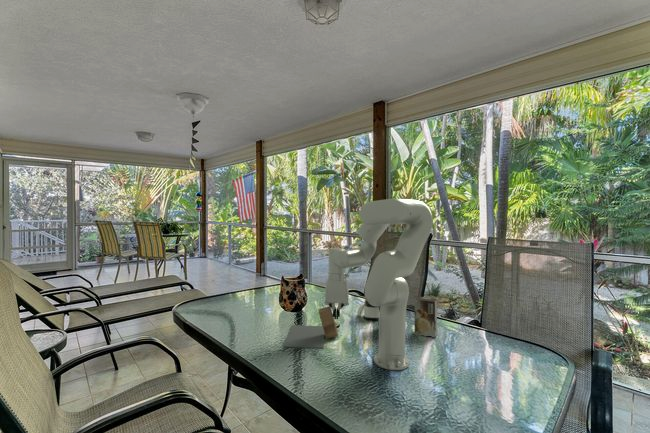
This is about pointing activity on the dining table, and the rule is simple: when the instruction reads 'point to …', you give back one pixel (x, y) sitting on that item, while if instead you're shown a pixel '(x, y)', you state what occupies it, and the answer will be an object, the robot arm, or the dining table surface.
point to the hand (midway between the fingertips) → (336, 318)
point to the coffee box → (426, 316)
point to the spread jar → (369, 311)
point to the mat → (305, 337)
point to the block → (328, 322)
